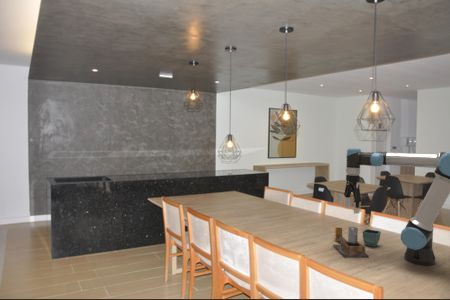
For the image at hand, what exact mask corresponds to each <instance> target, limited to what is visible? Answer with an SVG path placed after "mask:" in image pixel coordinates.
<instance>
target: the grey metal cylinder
mask: <svg viewBox="0 0 450 300" xmlns="http://www.w3.org/2000/svg"><path fill="white" fill-rule="evenodd" d="M347 233H348V236H347V241H348V246H357V242H358V237H359V236H358V235H359V231H358V227H355V226H348V232H347Z"/></svg>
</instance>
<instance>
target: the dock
mask: <svg viewBox="0 0 450 300" xmlns="http://www.w3.org/2000/svg"><path fill="white" fill-rule="evenodd" d="M332 247H333V248H334V249H335V250H336V251H337V252H338V253H339V254H340V255H341V257H343V258H350V259H351V258H352V259H353V258H355V259H358V258H359V259H360V258H363V259H365V258H366V259H368V258H369V257H370V255H369V254H367V253H366V251H365V250H366V246H365V245H363V244H362V243H360V242H359V241H357V246H348V240H347V241H345V240H344V239H342V241H340V244H333V245H332Z"/></svg>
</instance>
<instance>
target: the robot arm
mask: <svg viewBox="0 0 450 300" xmlns="http://www.w3.org/2000/svg"><path fill="white" fill-rule="evenodd" d="M345 158H346V169H345V171H346V173H345V174H346V175H345V180H346V181H345V182H346V183H345V189H344V193H343V196H344V197H345V198H344V199H345V200H344V202H345V204H344V207H345V208H344V209H350V208H351V195H353V198H354V199H353V214H360V203H361V202H362V197H361V196H362V195H361V189H360V184H358V183H359V182H360V179H361V178H360V177H361V176H360V174H361V166H370V167H382V166H398V167H412V168H414V167H415V168H427V169H429V168H430V169H432V168H433V169H435V170H434V172H433V173H434V176H435V177H434V179H433V181H432V183H431V185H430V187H429V189H428V191H427V192H426V195H425V196H424V198H423V201H422V202H421V204H420V206H419V208H418V210H417V212H416V213H415V215H414V217H410V218H409V220H408V221H407V223H406V225H405V228H403V229H402V230H401V232H400V240H401V242H402V243H403V245H404V247H406V250H405V251H404V255H403V257H404V260H406V261H407V262H409V263H412V264H416V265H421V266H433V265H435V264H436V263H437V261H436V257H435V253H434V249H433V244H434V242H433V241H434V238H433V237H434V231H435V229H434V227H435V226H434V223H435V221H436V219H437V218H438V216H439V214H440V212H441V210H442V208H443V206H444V205H445V202H446V201H447V199H448V197H449V195H450V151H442V152H441V151H440V152H438V153H421V152H420V153H418V152H389V151H387V152H386V151H384V152H383V151H376V152H375V151H374V152H364V151H361V148H356V147H355V148H353V147H351V148H347V150H346V156H345Z"/></svg>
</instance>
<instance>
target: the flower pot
mask: <svg viewBox="0 0 450 300" xmlns="http://www.w3.org/2000/svg"><path fill="white" fill-rule="evenodd" d="M381 233H382V232H381V231H379V230H374V229H367V228H366V229H364V230H363V231H362V239H363V242H364V244H365V246H368V247H372V248H374V247H376V246H377V245H378V244H379V241H380V239H381Z"/></svg>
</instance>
